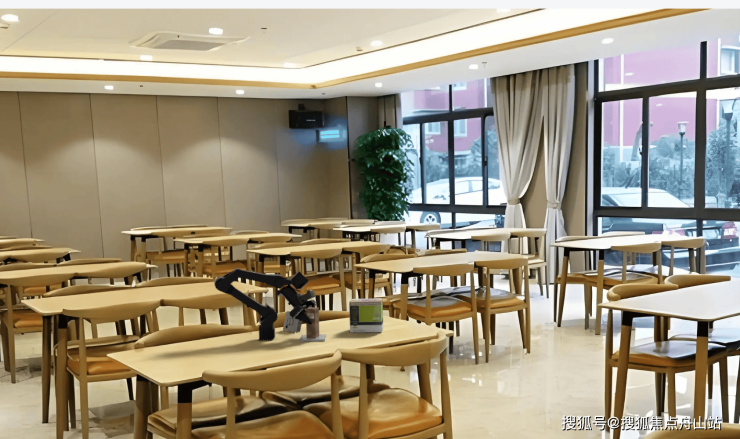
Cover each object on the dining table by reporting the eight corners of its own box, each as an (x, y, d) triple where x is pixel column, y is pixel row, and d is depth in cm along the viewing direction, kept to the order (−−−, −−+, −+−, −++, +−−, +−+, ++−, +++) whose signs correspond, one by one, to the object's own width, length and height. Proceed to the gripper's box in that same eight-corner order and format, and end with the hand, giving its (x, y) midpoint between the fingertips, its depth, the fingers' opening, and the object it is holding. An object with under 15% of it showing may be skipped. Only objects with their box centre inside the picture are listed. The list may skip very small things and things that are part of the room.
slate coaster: (299, 341, 316) (299, 339, 315) (301, 336, 326) (301, 334, 326) (324, 341, 316) (324, 339, 316) (326, 336, 327) (326, 334, 327)
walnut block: (305, 338, 319) (305, 309, 318) (310, 335, 324) (309, 307, 323) (315, 338, 318) (314, 309, 317) (319, 336, 322) (318, 307, 322)
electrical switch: (282, 330, 341) (283, 311, 341) (290, 330, 345) (291, 310, 345) (295, 333, 335) (296, 313, 335) (303, 332, 338) (304, 312, 339)
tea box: (383, 328, 341) (383, 297, 341) (381, 333, 331) (381, 301, 331) (352, 328, 343) (351, 298, 342) (349, 333, 333) (348, 301, 332)
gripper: (295, 287, 312) (319, 313, 309) (311, 281, 330) (334, 306, 327) (279, 304, 315) (303, 330, 312) (296, 298, 333) (318, 323, 330)
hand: (315, 322), depth 320 cm, fingers open, 9 cm apart
